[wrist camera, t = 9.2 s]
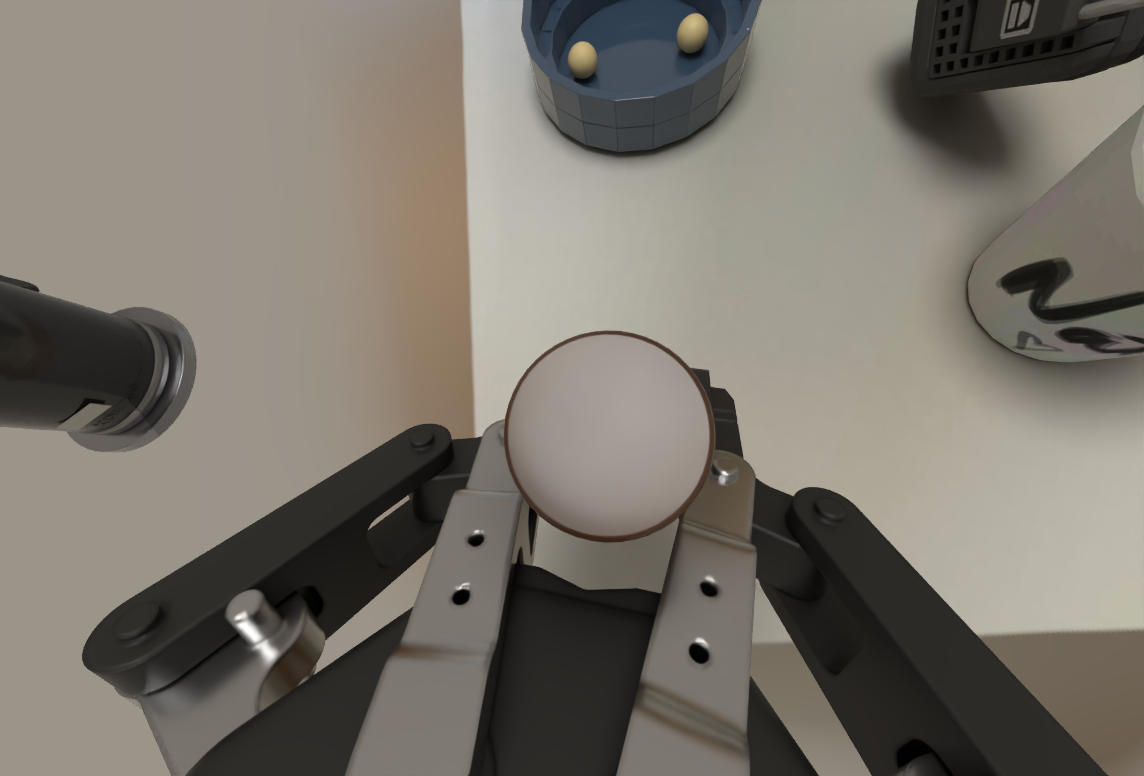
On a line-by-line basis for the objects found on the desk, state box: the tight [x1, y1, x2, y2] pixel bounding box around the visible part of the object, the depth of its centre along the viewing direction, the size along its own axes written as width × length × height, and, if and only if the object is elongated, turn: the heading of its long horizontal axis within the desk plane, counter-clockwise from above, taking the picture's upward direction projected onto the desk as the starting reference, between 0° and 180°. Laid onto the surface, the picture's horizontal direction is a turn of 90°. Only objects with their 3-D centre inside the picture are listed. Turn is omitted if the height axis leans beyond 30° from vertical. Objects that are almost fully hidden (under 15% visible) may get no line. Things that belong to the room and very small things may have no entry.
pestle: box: [504, 331, 715, 542], centre depth 12 cm, size 4×4×13 cm
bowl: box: [521, 0, 762, 152], centre depth 27 cm, size 14×14×4 cm
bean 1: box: [568, 42, 597, 79], centre depth 28 cm, size 2×2×2 cm
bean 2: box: [677, 13, 709, 53], centre depth 27 cm, size 2×2×2 cm
